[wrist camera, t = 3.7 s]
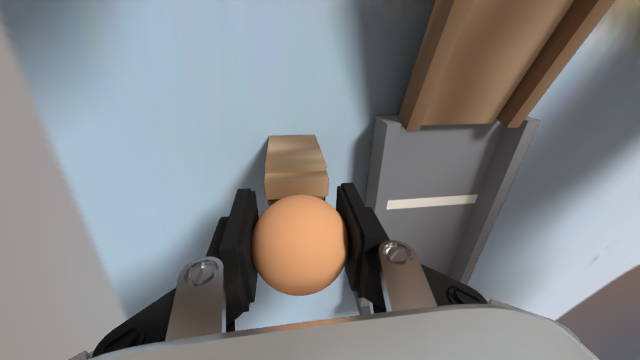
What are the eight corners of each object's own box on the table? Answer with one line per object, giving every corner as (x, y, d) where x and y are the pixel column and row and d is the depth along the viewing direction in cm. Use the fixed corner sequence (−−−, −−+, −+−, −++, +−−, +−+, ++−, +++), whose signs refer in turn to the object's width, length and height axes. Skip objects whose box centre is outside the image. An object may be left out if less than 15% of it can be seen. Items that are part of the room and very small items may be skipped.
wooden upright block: (314, 134, 15) (328, 172, 11) (314, 199, 17) (326, 253, 13) (269, 135, 15) (263, 175, 10) (275, 201, 17) (272, 258, 12)
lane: (512, 112, 16) (556, 125, 14) (446, 283, 24) (466, 311, 22) (375, 115, 15) (394, 129, 12) (353, 293, 23) (363, 325, 21)
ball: (340, 175, 11) (366, 233, 8) (336, 241, 13) (356, 311, 10) (250, 180, 11) (235, 244, 7) (260, 248, 13) (252, 325, 9)
